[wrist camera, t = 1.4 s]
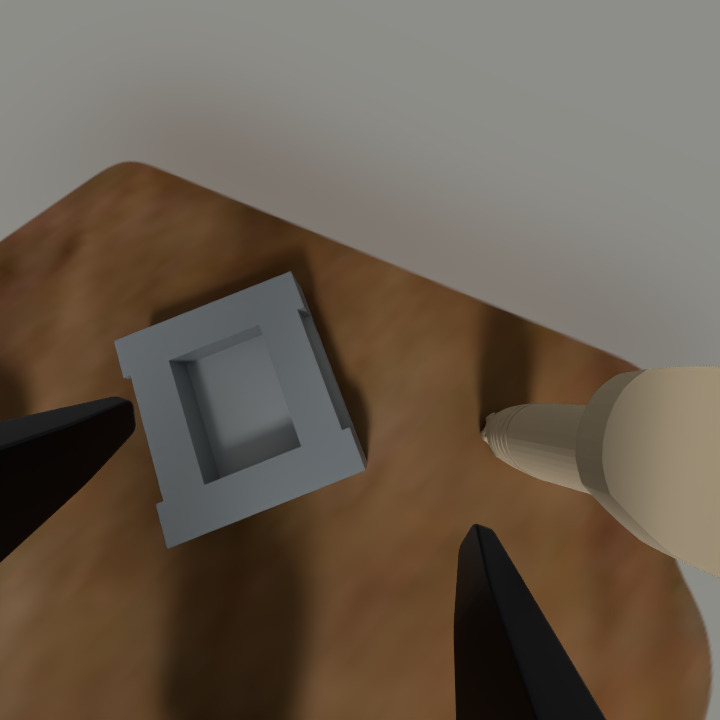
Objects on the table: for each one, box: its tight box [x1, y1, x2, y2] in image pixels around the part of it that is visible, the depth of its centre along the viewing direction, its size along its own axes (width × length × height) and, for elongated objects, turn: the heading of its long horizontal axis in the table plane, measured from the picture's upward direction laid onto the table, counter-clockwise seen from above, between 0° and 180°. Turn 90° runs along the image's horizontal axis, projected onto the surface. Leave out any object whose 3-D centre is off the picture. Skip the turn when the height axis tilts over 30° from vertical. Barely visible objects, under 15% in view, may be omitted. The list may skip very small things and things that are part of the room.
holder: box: [114, 271, 367, 549], centre depth 22 cm, size 14×13×3 cm
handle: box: [481, 366, 720, 578], centre depth 15 cm, size 5×6×15 cm
